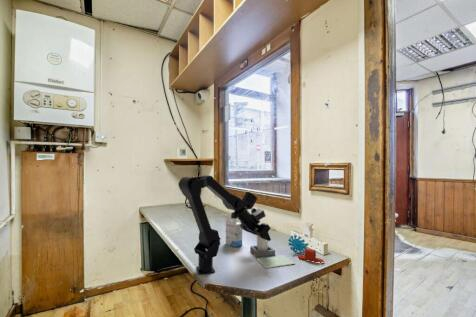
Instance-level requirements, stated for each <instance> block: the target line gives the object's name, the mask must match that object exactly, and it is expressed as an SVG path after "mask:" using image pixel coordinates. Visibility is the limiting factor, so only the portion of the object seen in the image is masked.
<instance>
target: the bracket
mask: <svg viewBox="0 0 476 317" xmlns="http://www.w3.org/2000/svg"><path fill="white" fill-rule="evenodd" d="M304 251H305V253H304V254H301V255H300V254H298V255H297V259H298V258H299V259H298V260H300V259H303V260H302V261H305V260H309V261H314V262H320V263H321V262H324V259H322V258H319V257H317V251H316V250H315V249H312V248H307V247H306V250H304ZM309 261H308V262H309ZM314 262H313V263H314Z"/></svg>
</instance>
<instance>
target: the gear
mask: <svg viewBox="0 0 476 317" xmlns="http://www.w3.org/2000/svg"><path fill="white" fill-rule="evenodd" d="M297 237H298V238H297ZM305 242H306V240H305V239H304V238H303V239H302V237H301V236H300V235H299V236H298V235H297V234H294V235H291V236H290V237H289V238H288V244H287V245H288V246H290V250H291V251H293V253H295V254H297V253H298V255H300V254H301V255H303V253H304V254H305V250H306V248H307V247H308V246H309V243H308V242H307V243H305ZM298 251H299V252H298Z"/></svg>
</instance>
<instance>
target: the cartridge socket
mask: <svg viewBox="0 0 476 317" xmlns="http://www.w3.org/2000/svg"><path fill="white" fill-rule="evenodd" d="M249 249H250V253H252V255H254V256H255V258H256V259H257V258H265V257H273V256H276V250H275V249H274V248H272V247H271V246H270V245H268V250H267V251H258V250H257V245H250V247H249Z"/></svg>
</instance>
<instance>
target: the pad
mask: <svg viewBox="0 0 476 317" xmlns="http://www.w3.org/2000/svg"><path fill="white" fill-rule="evenodd" d="M255 259H256V261H257V262H258V263H259V264H260V265H261V266H262V267H263V268H265V269H272V268H273V269H274V268H279V267H285V266H286V265H287V266H292V264H294V265H296V263H295V262H294V261H293V260H291V259H289V258H288V257H287V256H286V255H284V254H282V255H281V254H280V255H275V256H269V257H261V258H257V257H256V258H255Z"/></svg>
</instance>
